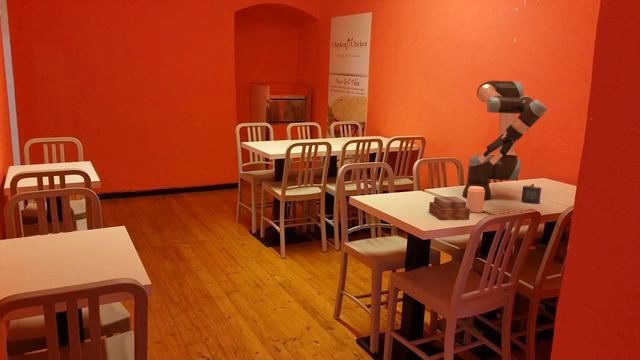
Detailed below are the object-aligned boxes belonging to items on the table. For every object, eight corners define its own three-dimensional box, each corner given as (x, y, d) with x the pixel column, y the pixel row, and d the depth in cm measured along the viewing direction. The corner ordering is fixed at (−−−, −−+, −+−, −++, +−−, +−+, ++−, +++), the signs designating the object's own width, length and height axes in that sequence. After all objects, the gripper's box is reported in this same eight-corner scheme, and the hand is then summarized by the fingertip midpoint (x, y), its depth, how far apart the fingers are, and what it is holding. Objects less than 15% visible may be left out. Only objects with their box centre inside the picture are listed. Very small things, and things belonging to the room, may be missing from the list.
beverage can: (463, 208, 262) (465, 185, 260) (479, 209, 263) (481, 185, 260) (469, 213, 254) (471, 189, 252) (485, 213, 255) (487, 189, 252)
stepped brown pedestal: (455, 211, 256) (457, 195, 255) (469, 219, 243) (470, 202, 241) (428, 212, 254) (430, 196, 252) (441, 220, 240) (442, 203, 238)
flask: (539, 203, 280) (541, 183, 278) (539, 204, 277) (542, 184, 275) (520, 201, 282) (523, 182, 280) (521, 202, 280) (523, 183, 277)
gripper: (513, 131, 233) (480, 165, 242) (532, 137, 252) (501, 168, 261) (501, 120, 237) (469, 154, 246) (521, 127, 256) (490, 158, 265)
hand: (485, 162), depth 254 cm, fingers open, 13 cm apart
